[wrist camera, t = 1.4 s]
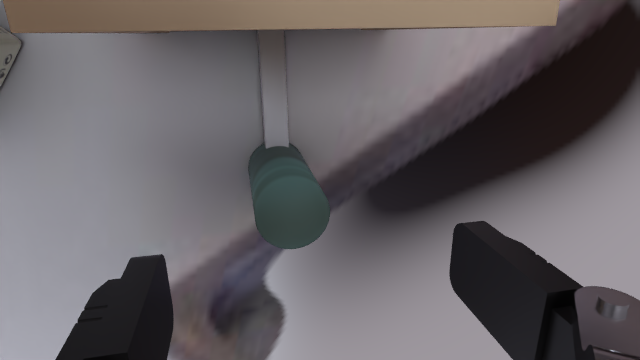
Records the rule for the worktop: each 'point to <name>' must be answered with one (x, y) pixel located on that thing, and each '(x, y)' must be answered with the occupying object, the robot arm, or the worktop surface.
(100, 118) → the worktop surface
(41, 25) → the oak cubby
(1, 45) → the skincare box
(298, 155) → the mallet
